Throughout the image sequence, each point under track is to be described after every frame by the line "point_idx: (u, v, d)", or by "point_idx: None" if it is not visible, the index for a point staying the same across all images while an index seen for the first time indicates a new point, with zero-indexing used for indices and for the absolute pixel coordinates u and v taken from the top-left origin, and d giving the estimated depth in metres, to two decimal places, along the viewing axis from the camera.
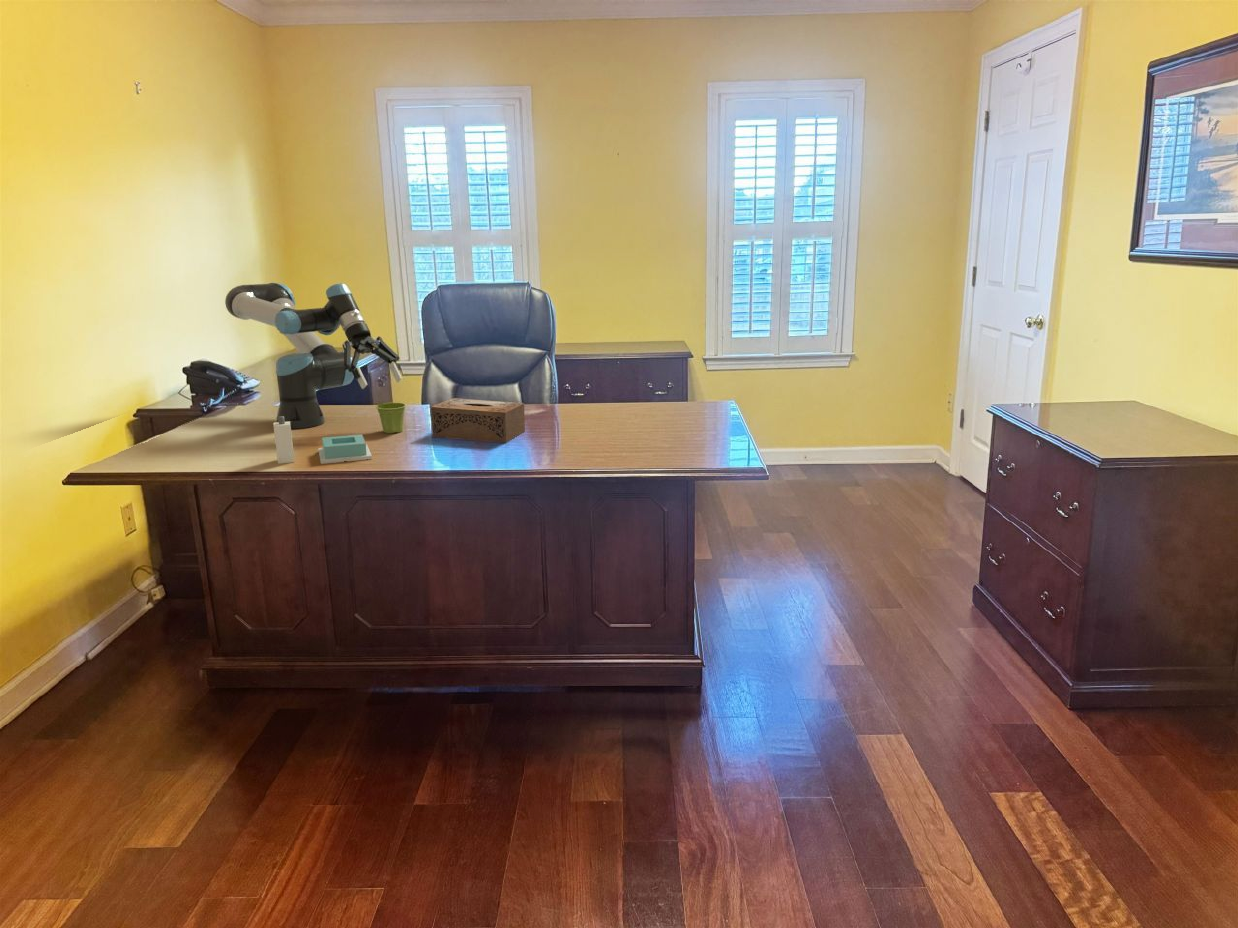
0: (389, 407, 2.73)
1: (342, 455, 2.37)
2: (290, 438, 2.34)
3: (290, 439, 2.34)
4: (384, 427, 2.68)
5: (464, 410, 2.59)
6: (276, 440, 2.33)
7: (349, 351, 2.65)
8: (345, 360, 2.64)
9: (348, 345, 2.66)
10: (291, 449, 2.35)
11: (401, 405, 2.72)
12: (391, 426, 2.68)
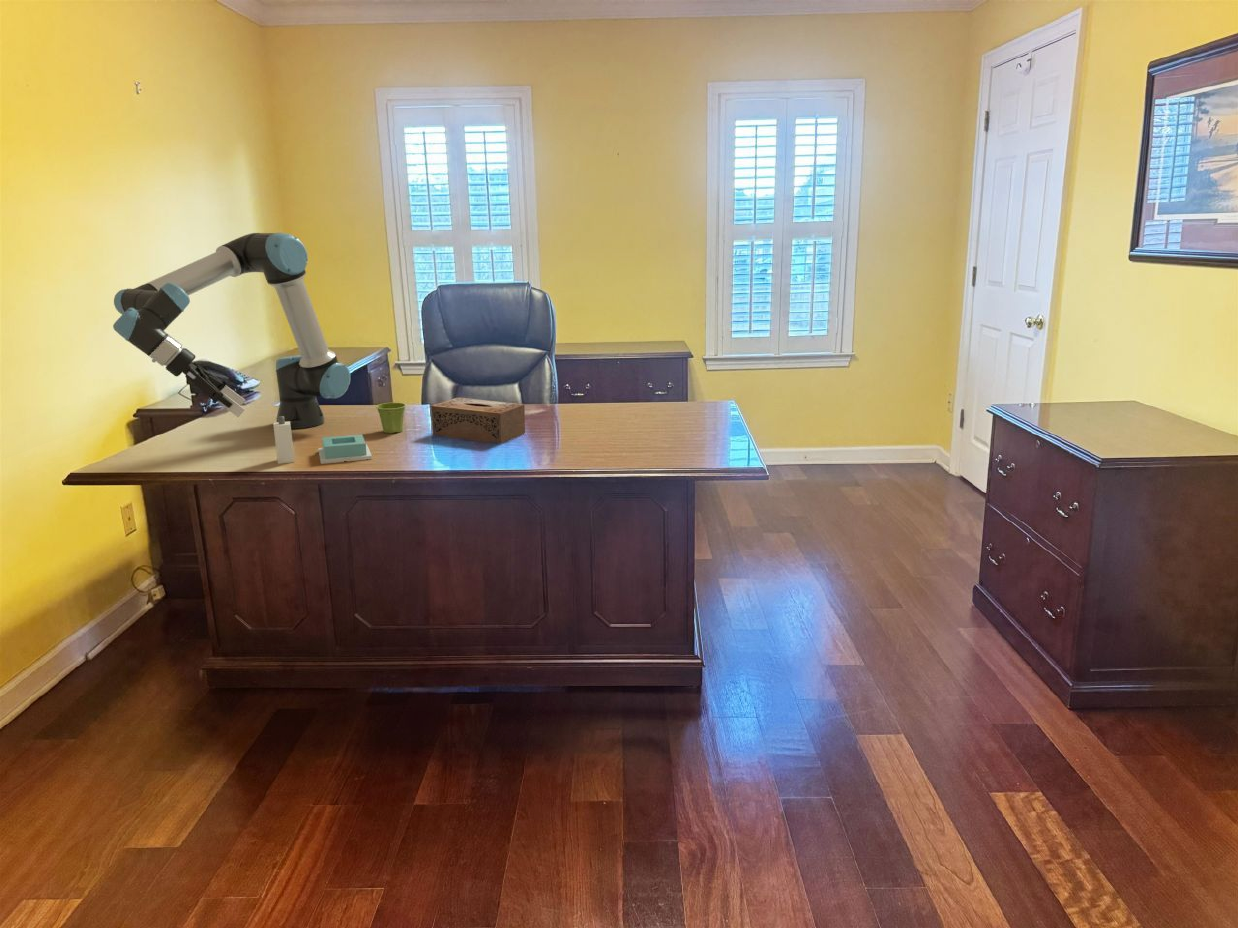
0: (389, 407, 2.73)
1: (342, 455, 2.37)
2: (290, 438, 2.34)
3: (290, 439, 2.34)
4: (384, 427, 2.68)
5: (462, 410, 2.59)
6: (276, 440, 2.33)
7: None
8: None
9: None
10: (291, 449, 2.35)
11: (401, 405, 2.72)
12: (391, 426, 2.68)
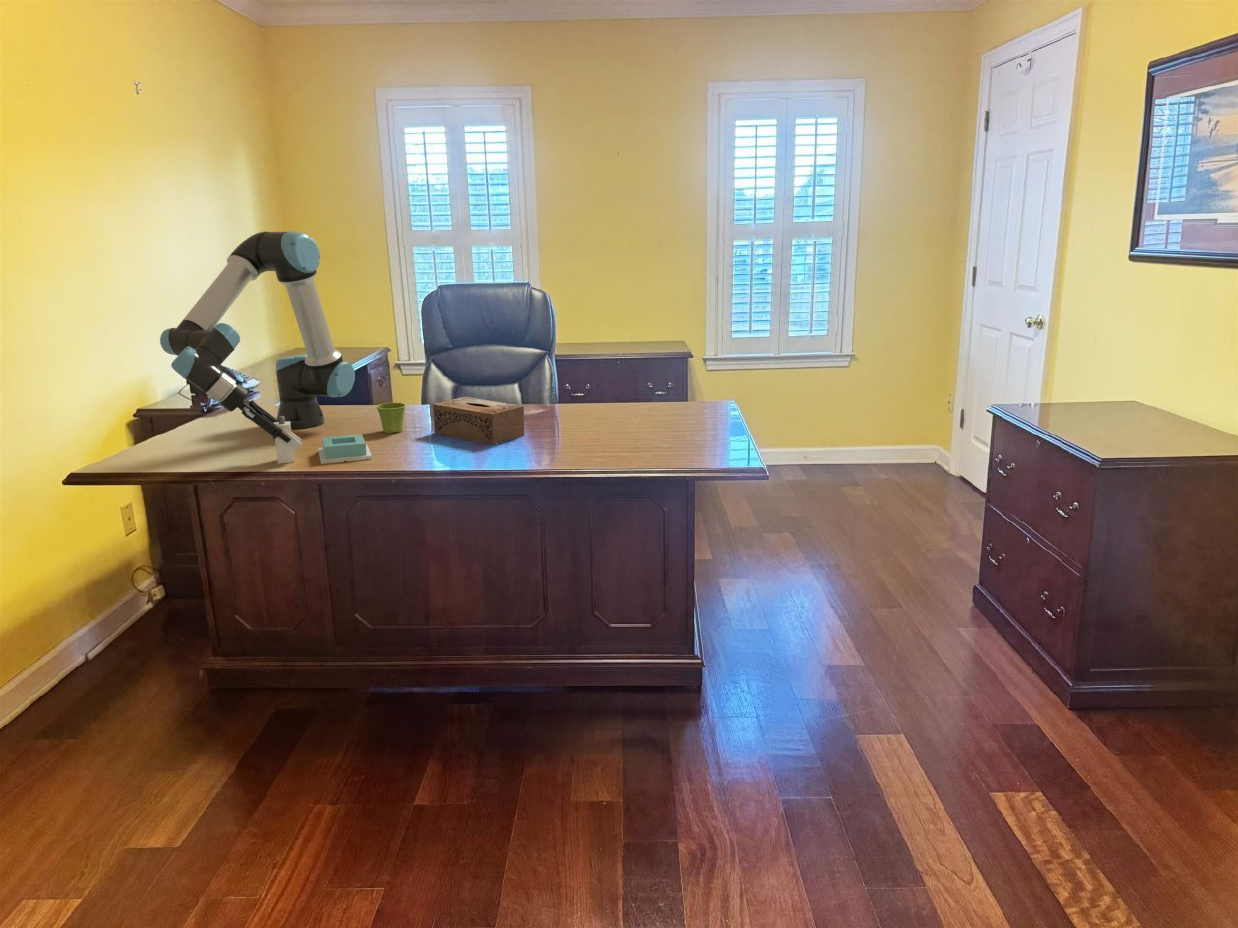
0: (389, 407, 2.73)
1: (342, 455, 2.37)
2: None
3: None
4: (384, 427, 2.68)
5: (459, 409, 2.60)
6: (276, 440, 2.33)
7: None
8: None
9: None
10: (291, 449, 2.35)
11: (401, 405, 2.72)
12: (391, 426, 2.68)
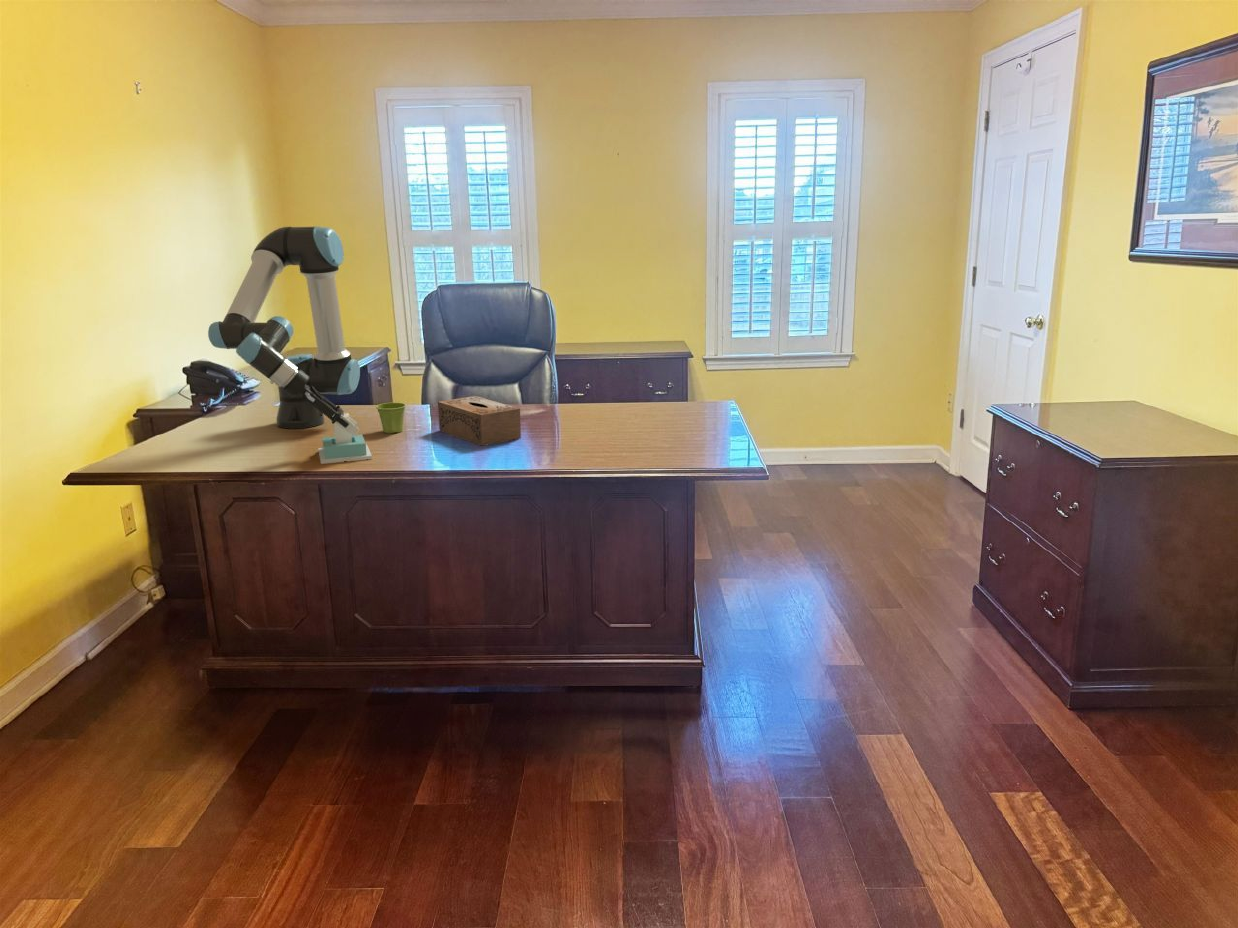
0: (389, 407, 2.73)
1: (342, 455, 2.37)
2: None
3: None
4: (384, 427, 2.68)
5: (456, 408, 2.61)
6: (336, 431, 2.38)
7: None
8: None
9: None
10: (350, 440, 2.41)
11: (401, 405, 2.72)
12: (391, 426, 2.68)
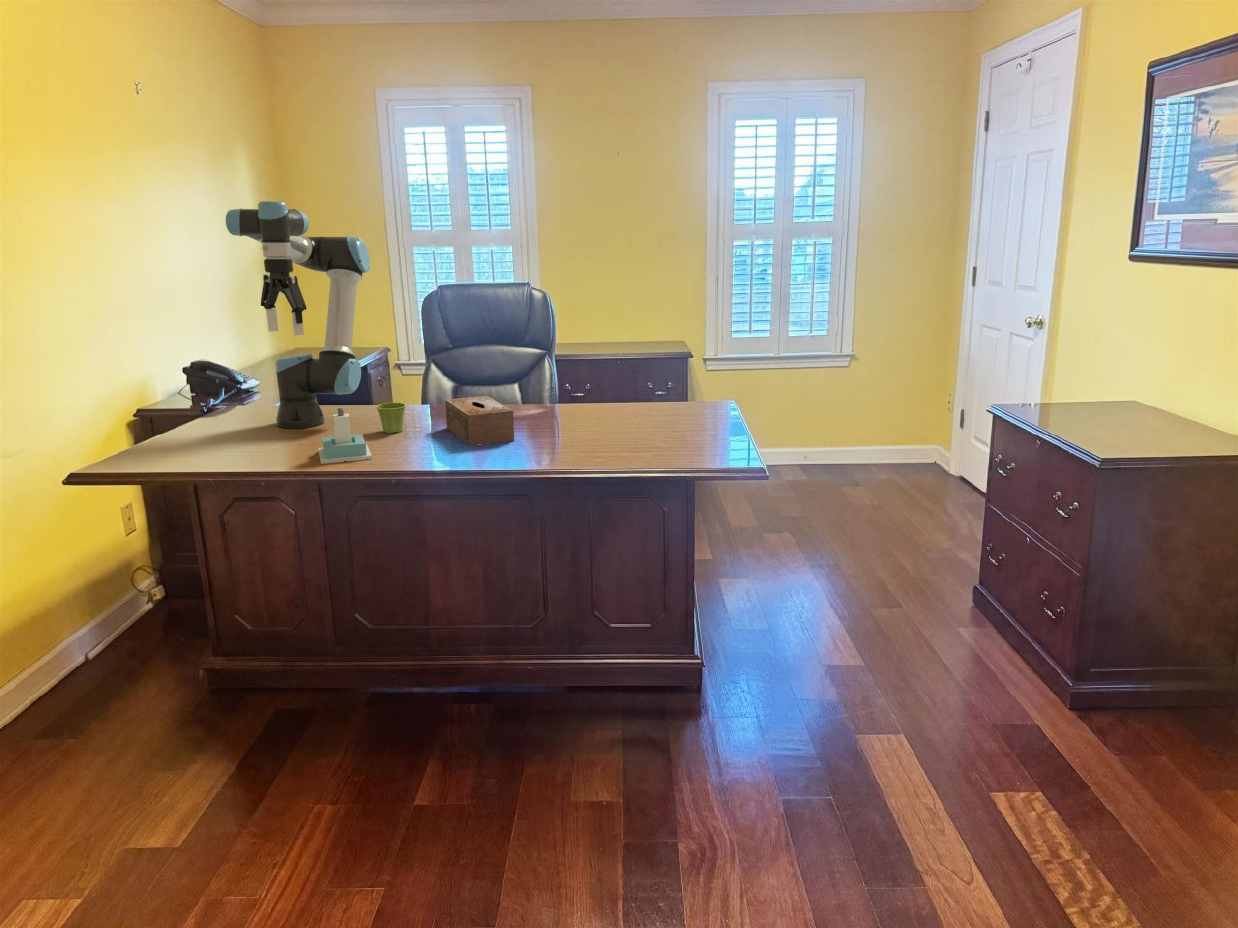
0: (389, 407, 2.73)
1: (342, 455, 2.37)
2: (349, 429, 2.40)
3: (349, 430, 2.40)
4: (384, 427, 2.68)
5: (455, 407, 2.63)
6: (336, 431, 2.38)
7: (264, 288, 2.41)
8: None
9: (264, 281, 2.40)
10: (350, 440, 2.41)
11: (401, 405, 2.72)
12: (391, 426, 2.68)
